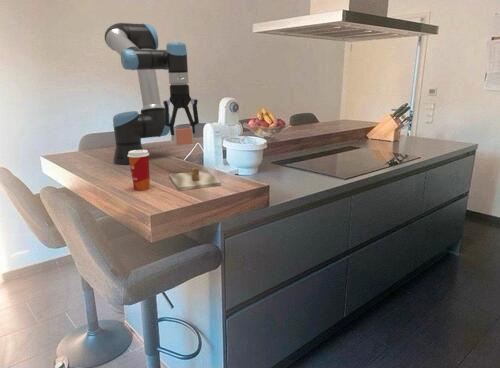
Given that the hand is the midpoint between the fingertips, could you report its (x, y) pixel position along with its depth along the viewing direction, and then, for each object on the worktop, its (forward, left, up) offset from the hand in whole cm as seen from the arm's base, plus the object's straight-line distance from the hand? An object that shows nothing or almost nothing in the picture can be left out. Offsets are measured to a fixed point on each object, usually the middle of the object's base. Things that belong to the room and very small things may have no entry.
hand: (183, 142), depth 154 cm
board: (+1, -12, -13) cm, 18 cm away
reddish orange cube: (0, 0, 0) cm, 0 cm away
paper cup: (-19, -13, -14) cm, 27 cm away
